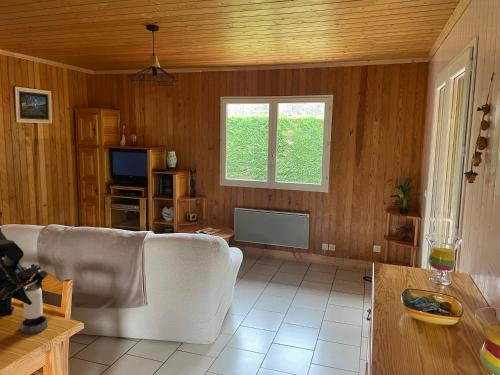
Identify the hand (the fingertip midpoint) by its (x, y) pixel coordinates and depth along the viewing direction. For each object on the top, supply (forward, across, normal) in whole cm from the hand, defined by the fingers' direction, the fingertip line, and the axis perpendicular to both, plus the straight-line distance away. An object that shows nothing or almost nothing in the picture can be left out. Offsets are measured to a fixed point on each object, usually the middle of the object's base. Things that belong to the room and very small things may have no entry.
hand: (37, 300), depth 149 cm
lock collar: (+7, 0, +10) cm, 12 cm away
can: (+3, 0, +6) cm, 7 cm away
